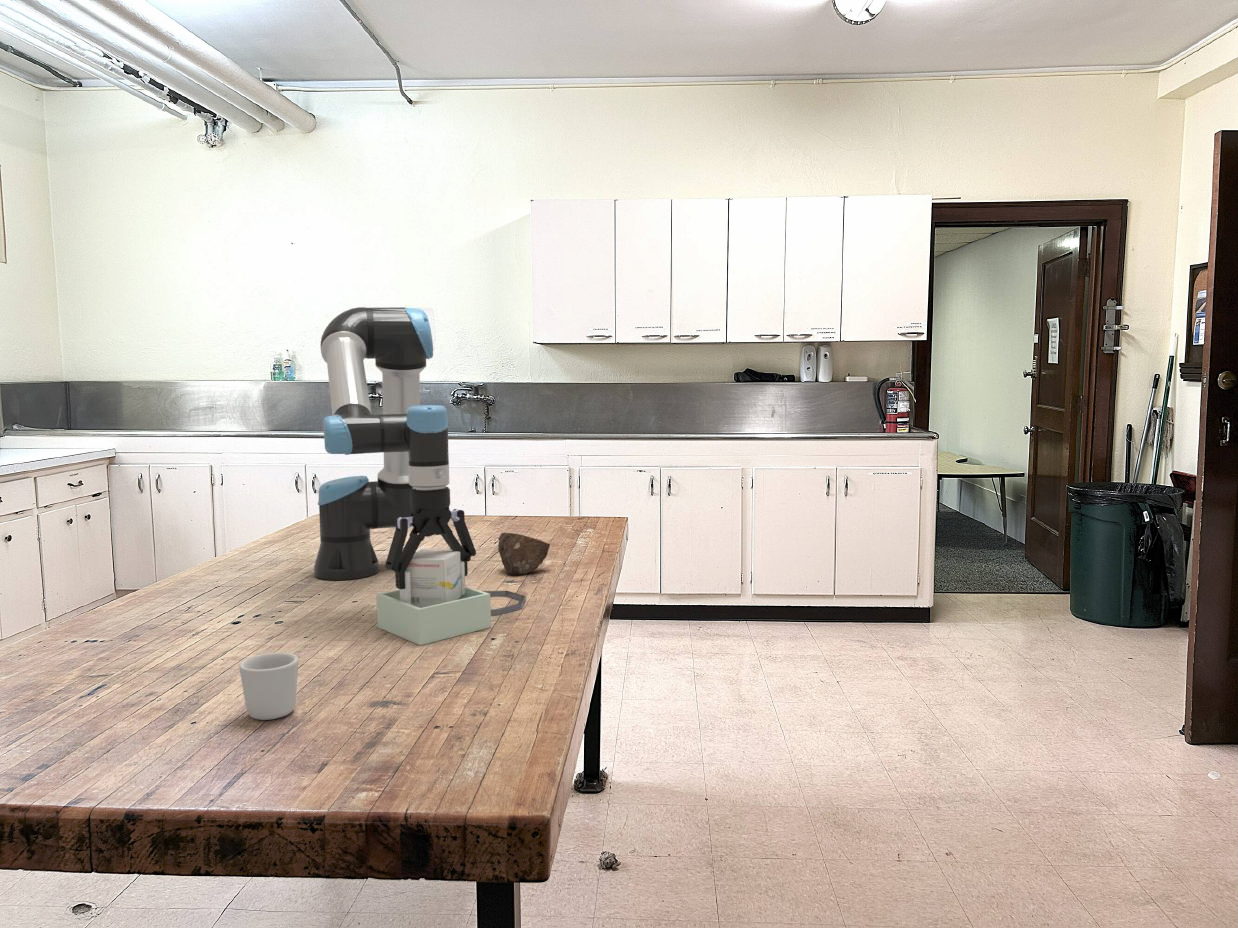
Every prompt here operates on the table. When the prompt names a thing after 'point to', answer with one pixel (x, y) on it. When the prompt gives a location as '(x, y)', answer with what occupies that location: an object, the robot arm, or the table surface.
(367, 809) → the table surface
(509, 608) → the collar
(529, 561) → the rock
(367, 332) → the robot arm
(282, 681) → the cup
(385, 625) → the bin
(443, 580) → the ink box
